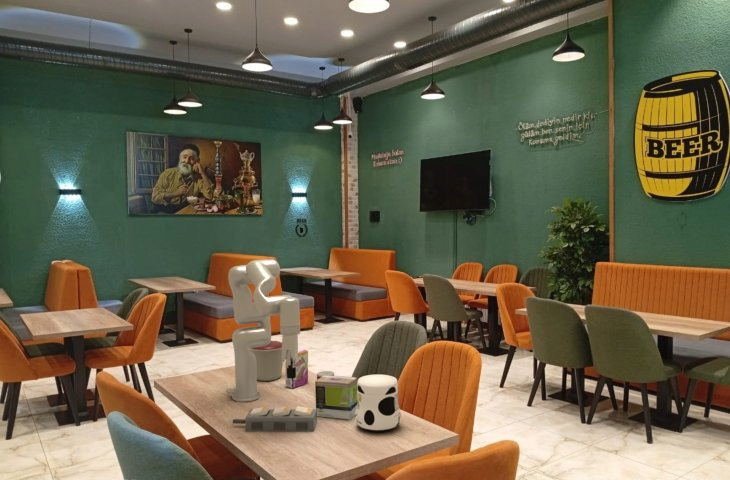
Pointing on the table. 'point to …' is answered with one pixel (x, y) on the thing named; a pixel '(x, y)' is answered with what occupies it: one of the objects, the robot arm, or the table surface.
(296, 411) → the rocker
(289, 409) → the rocker
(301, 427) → the power strip
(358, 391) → the milk container
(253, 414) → the rocker
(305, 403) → the table surface
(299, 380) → the candy bar box
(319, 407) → the tea box
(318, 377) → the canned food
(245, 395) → the robot arm
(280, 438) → the table surface
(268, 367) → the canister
